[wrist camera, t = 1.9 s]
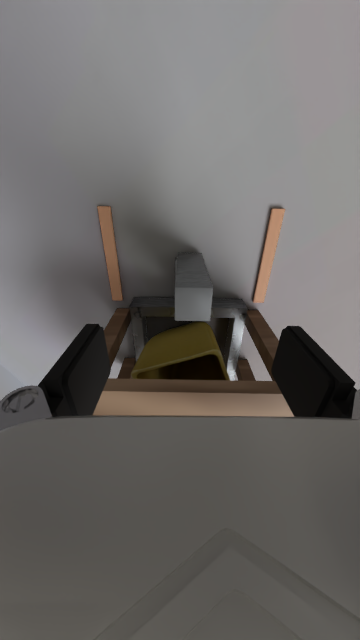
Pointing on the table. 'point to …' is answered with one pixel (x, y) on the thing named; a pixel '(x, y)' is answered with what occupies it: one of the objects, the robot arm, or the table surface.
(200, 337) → the flower pot
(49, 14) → the table surface
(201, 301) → the grey tray with upright
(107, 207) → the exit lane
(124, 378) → the small wooden table
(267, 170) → the table surface
